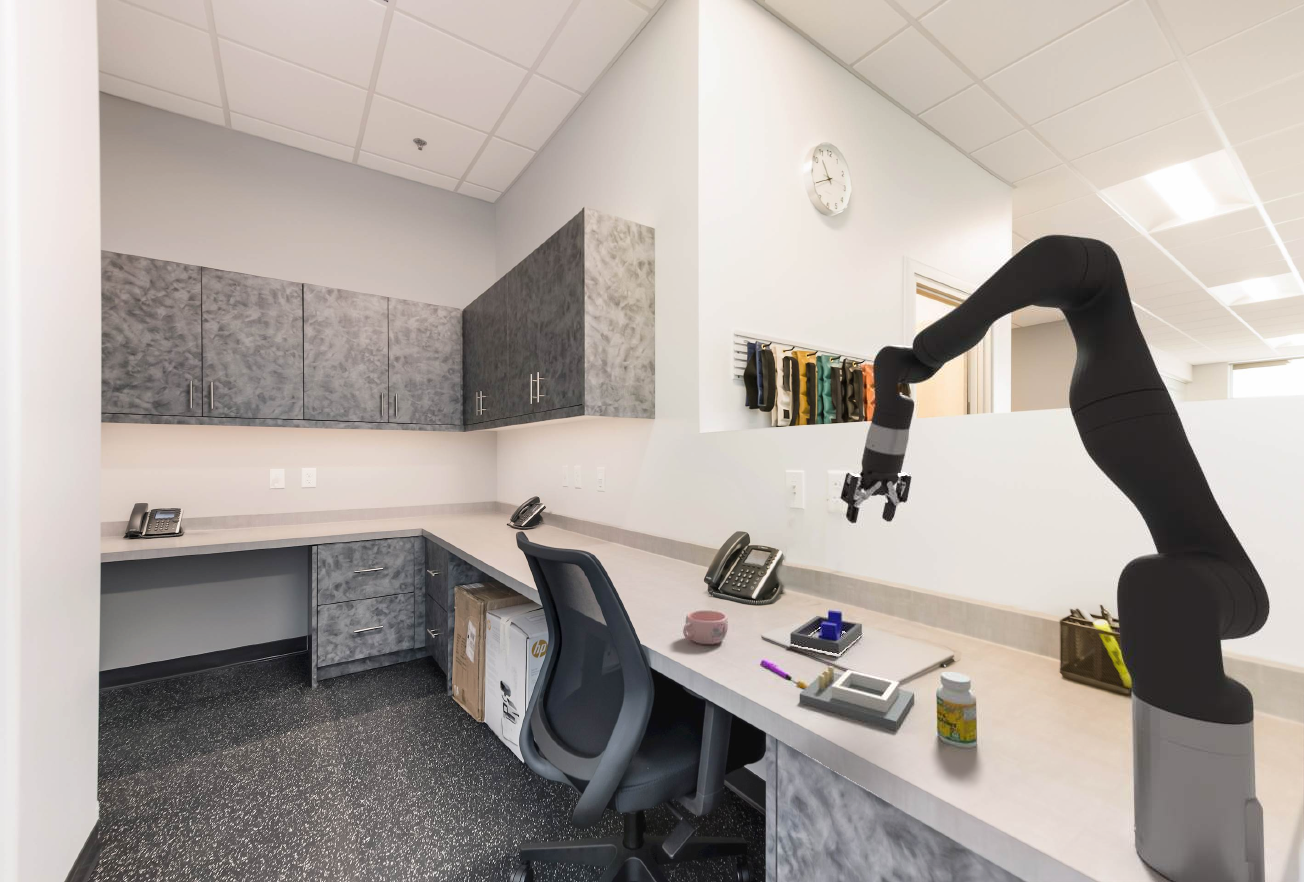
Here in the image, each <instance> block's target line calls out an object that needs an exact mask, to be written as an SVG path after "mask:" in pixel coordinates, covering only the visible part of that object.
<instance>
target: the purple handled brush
mask: <svg viewBox="0 0 1304 882" xmlns="http://www.w3.org/2000/svg"><path fill="white" fill-rule="evenodd" d="M760 664H761V665H762V666H763V667H765V668H767V669H769V670H770V671H772V672H774V673H775V674H777V675H779V676H781V677H782V678H785V679H787V680H788V681H793V682H794V683H796V686H797V687H800V688H801V689H803V690H804V689H806V688H807V687H808V686H809V685H807V684H806V683H805V682H803V681H802V680H798V681H797V680H795V679H793V678H792V676H791V675H790V674H789V673H787V672H786V671H783V670H781V669H780V668H779V667H778V665H777V664H775V663H773V662H771V661H769V660H767V659H762V660H761V661H760Z"/></svg>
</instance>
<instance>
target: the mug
mask: <svg viewBox="0 0 1304 882" xmlns="http://www.w3.org/2000/svg"><path fill="white" fill-rule="evenodd" d="M728 623H729V621H728V617H727V615H725V614H724V613H723V612H721V611H716V610H709V609H708V610H707V609H706V610H705V609H703V610H702V609H701V610H694V611H691V612H689V613H688V614H687V615H686V617H685V625H684V627H683V630H682V633H683V634H682V635H683V636H684V637H685V639H690V640H691V641H692V642H694V643H696V644H697V643H698V644H701V645H714V644H715V645H716V644H719V643H721V642H722V641H724V639H725V638H726V637H727V633H728V629H729V624H728Z"/></svg>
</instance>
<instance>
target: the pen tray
mask: <svg viewBox="0 0 1304 882" xmlns="http://www.w3.org/2000/svg"><path fill="white" fill-rule="evenodd" d="M822 622H828V616H827V617H825V616H820V615H816V616H815V617H813V618H812V619H810V620H808V621H807V622H805V623H804V624H802V625H801V626H799V627H798V628H796V629H795V630H793V631H791V632H790V635H789V636H790V643H789V644H794V645H798V646H801V647H808V648H813V649H817V650H822V651H827V652H832V653H837V654H839V653H840V652H842V651H843V650H844V649H845V648H846V647H848V646H849V645H850V644H851V643H852V642H853V641H855V640H856V639H857V638H858V637H859V636H861V635H862V636H863V623H856V622H852V621H847V620H843V619H842V631H845V632H846V633H845V634H842V637H840V638H839V639H838V640H837V641H832V640H827V639H822V638H819V637H817V636H813V635H811V636H808V635H810V634H811V633H812V632H814V631H815V630H817V629H818V628H819V627H821V624H822Z"/></svg>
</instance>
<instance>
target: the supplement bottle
mask: <svg viewBox="0 0 1304 882" xmlns="http://www.w3.org/2000/svg"><path fill="white" fill-rule="evenodd" d="M940 684H941V685H940V686H938V688H937V689H936V694H935V695H936V697H935V698H936V728H937V729H936V732H937V736H938V738H939V739H940V740H941V741H942V742H944V743H946V744H948V745H950V746H955V747H958V748H963V749H964V748H965V749H968V748H969V749H971V748H974V747H975V746H976V745H977V743H978V728H977V727H978V726H977V725H978V720H977V717H978V715H977V697H976V695H975V693H974V692H973V691H971V687H972V686H971V678H970V677H969V676H967V675H965V674H963V673H960V672H955V671H943V672H941V673H940Z"/></svg>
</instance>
